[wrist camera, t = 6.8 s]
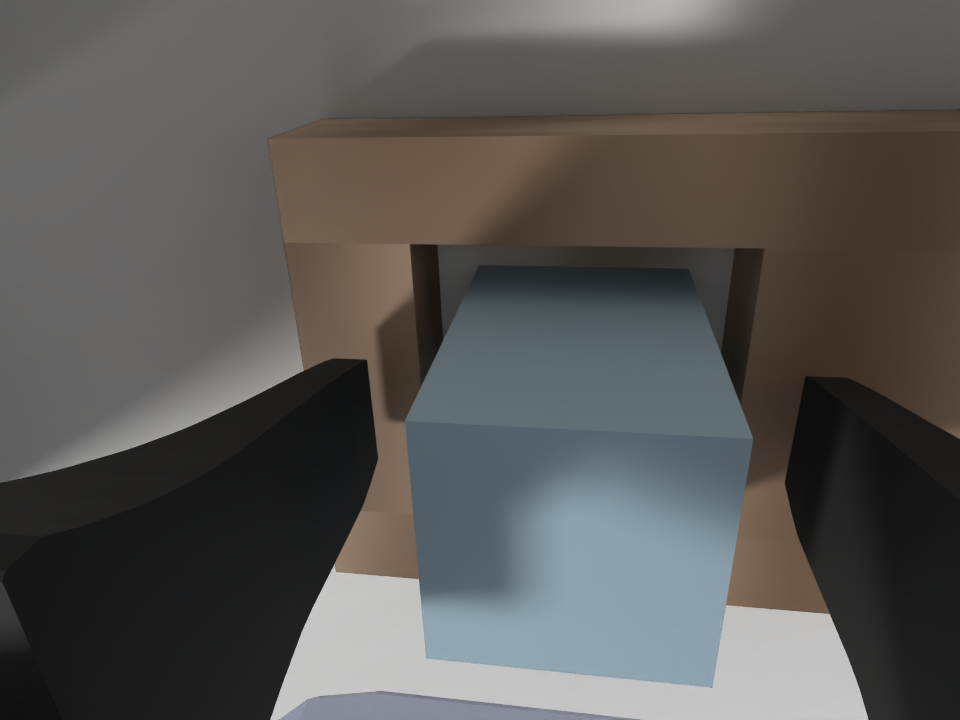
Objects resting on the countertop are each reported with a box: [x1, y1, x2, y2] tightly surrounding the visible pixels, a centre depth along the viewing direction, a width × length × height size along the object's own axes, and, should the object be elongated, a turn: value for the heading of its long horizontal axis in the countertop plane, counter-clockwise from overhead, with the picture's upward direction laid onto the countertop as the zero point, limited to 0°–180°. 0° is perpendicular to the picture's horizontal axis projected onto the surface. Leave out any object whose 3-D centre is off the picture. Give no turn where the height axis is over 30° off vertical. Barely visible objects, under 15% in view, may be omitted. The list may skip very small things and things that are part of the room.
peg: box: [405, 265, 753, 688], centre depth 12 cm, size 4×4×6 cm
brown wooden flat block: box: [267, 110, 960, 614], centre depth 13 cm, size 20×9×2 cm, turn 92°
